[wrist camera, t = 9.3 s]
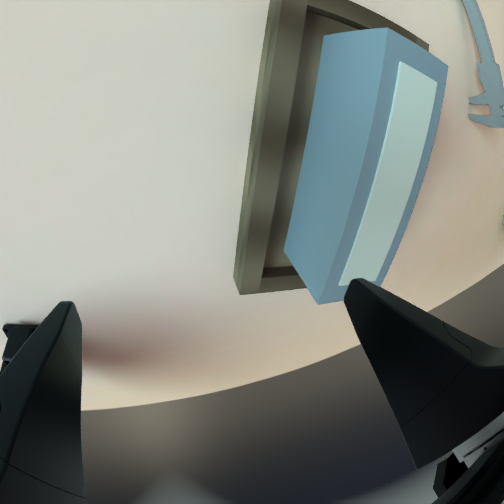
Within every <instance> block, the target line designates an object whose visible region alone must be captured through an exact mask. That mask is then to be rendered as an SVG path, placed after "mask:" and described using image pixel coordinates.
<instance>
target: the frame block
mask: <svg viewBox="0 0 504 504" xmlns="http://www.w3.org/2000/svg"><path fill="white" fill-rule="evenodd" d="M447 71H448V66H447V65H446V64H445V63H443V62H442V61H441V60H439V59H438V58H436V57H435V56H434V55H432V54H431V53H429V52H428V51H426V50H425V49H423V48H422V47H420V46H418V45H417V44H415V43H414V42H412V41H410V40H409V39H407V38H405V37H404V36H402V35H400V34H398V33H397V32H395V31H393V30H391V29H389V28H375V29H365V30H356V31H349V32H342V33H336V34H330V35H324V37H323V43H322V50H321V57H320V63H319V69H318V76H317V82H316V88H315V94H314V99H313V105H312V111H311V117H310V122H309V128H308V133H307V139H306V144H305V149H304V154H303V160H302V165H301V170H300V175H299V180H298V185H297V190H296V195H295V200H294V204H293V209H292V214H291V219H290V223H289V228H288V233H287V237H286V242H285V246H284V252H285V254H286V255H287V257H288V258H289V260H290V262H291V263H292V265H293V266H294V268H295V269H296V271H297V273H298V274H299V276H300V277H301V279H302V280H303V282H304V284H305V285H306V287H307V288H308V290H309V291H310V293H311V295H312V296H313V298H314V299H315V301H316V303H317V304H318V305H319V304H325V303H331V302H337V301H343V300H344V295H345V293H346V290H347V288H348V286H349V283H350V281H351V280H352V279H355V278H364V279H366V280H368V281H370V282H371V283H373V284H375V285H377V286H379V287H380V286H381V284H382V282H383V280H384V278H385V276H386V274H387V271H388V269H389V267H390V265H391V263H392V260H393V258H394V256H395V254H396V251H397V249H398V246H399V244H400V242H401V239H402V237H403V234H404V232H405V229H406V227H407V224H408V221H409V219H410V216H411V213H412V211H413V208H414V205H415V202H416V199H417V197H418V194H419V191H420V188H421V184H422V181H423V178H424V175H425V172H426V168H427V165H428V161H429V158H430V154H431V151H432V147H433V143H434V139H435V135H436V131H437V126H438V122H439V117H440V113H441V108H442V102H443V97H444V91H445V85H446V78H447Z"/></svg>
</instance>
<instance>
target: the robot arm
mask: <svg viewBox="0 0 504 504" xmlns="http://www.w3.org/2000/svg"><path fill="white" fill-rule="evenodd" d="M344 303H345V306H346V308H347V311H348V313H349V316H350V318H351V321H352V323H353V326H354V329H355V331H356V334H357V336H358V338H359V341H360V343H361V345H362V346H363V349H364V351H365V353H366V355H367V357H368V359H369V361H370V363H371V365H372V367H373V369H374V371H375V374H376V376H377V378H378V380H379V382H380V384H381V386H382V388H383V391H384V393H385V395H386V397H387V400H388V402H389V404H390V406H391V408H392V411H393V413H394V415H395V418H396V420H397V422H398V425H399V427H400V430H401V432H402V434H403V437H404V439H405V442H406V444H407V447H408V449H409V452H410V454H411V457H412V459H413V462H414V465H415V467H416V469H417V470H418V469H419V468H422V467H424V466H425V465H427V464H429V463H431V462H433V461H435V460H436V459H438V458H440V457H441V456H443V455H445V454H446V453H448V452H450V451H451V450H452V451H451V453H449V454H448V455H447V456H446V457H445V458H444V459H443V460H441V461H440V462H439V463H438V465H437V471H436V476H435V481H434V486H433V489H434V491H435V493H436V494H437V496H438V499H437V500H435V501H434V502H433V503H432V504H504V347H503V348H502V347H501V348H499V347H494V346H491V345H489V344H486V343H485V342H483V341H480V340H478V339H476V338H474V337H472V336H470V335H468V334H466V333H464V332H462V331H460V330H458V329H456V328H455V327H452V326H451V325H449V324H447V323H445V322H444V321H441V320H440V319H438V318H436V317H435V316H433V315H431V314H429V313H427V312H426V311H424V310H422V309H420V308H418V307H416V306H415V305H413V304H411V303H409V302H407V301H405V300H403V299H402V298H400V297H398V296H396V295H394V294H392V293H390V292H389V291H387V290H385V289H383V288H381V287H379V286H377V285H375V284H373V283H371V282H370V281H368V280H366V279H364V278H355V279H352V280H351V281H350V283H349V286H348V288H347V290H346V293H345V295H344ZM3 331H4V333H5V334H6V336H7V338H8V340H7V343H6V346H5V350H4V353H3V356H2V359H3V363H2V367H1V371H0V504H87V499H86V491H85V484H84V475H83V464H82V451H81V386H82V324H81V320H80V318H79V315H78V312H77V310H76V307H75V304H74V303H73V302H72V301H62V302H60V303H58V305H57V306H56V307H55V308H54V309H53V310H52V311H51V312H50V314H49V315H48V316H47V317H46V318H45V319H44V320H43V322H42V323H41V324H40V325H39V326H23V325H4V326H3Z"/></svg>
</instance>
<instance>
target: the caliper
mask: <svg viewBox="0 0 504 504" xmlns="http://www.w3.org/2000/svg"><path fill="white" fill-rule="evenodd" d="M462 1H463V3H464V6H465V8H466V11H467V13H468V16H469V19H470V22H471V25H472V28H473V31H474V35H475V38H476V42H477V45H478V49H479V53H480V57H481V63H476V65H477V68H478V70H479V78H480V80H481V83H482V85H483V86H484V90H485V93H483V94H480V95H478V96H475V97H472V98H470V99H469V104H477V105H489V107H490V114H491V116H488V115H471V114H468V115H469V118H470V119H471V120H473V121H476V122H478V123H481V124H483V125H486V126H488V127H494V128H504V109H503V106H504V88H503V82H502V77H501V72H500V67H499V64H496V63H495V59H494V55H493V51H492V47H491V43H490V39H489V36H488V33H487V29H486V26H485V23H484V20H483V17H482V15H481V12H480V9H479V7H478V4H477V1H476V0H462Z"/></svg>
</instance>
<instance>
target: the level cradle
mask: <svg viewBox="0 0 504 504" xmlns="http://www.w3.org/2000/svg"><path fill="white" fill-rule="evenodd" d="M375 28H389V29H391V30H393V31H395V32H397V33H398V34H400V35H402V36H404V37H405V38H407V39H409V40H410V41H412V42H414V43H415V44H417V45H418V46H420V47H422V48H423V49H425V50H426V51H428V50H429V44H427V43H426V42H424V41H423V40H421V39H420V38H418V37H417V36H415V35H414V34H412V33H411V32H409V31H407V30H406V29H404V28H402V27H401V26H399V25H397V24H395V23H394V22H392V21H390V20H388V19H386V18H385V17H383V16H381V15H379V14H377V13H375V12H373V11H371V10H369V9H367V8H365V7H363V6H360V5H358V4H356V3H354V2H352V1H349V0H270V5H269V11H268V17H267V24H266V30H265V37H264V43H263V50H262V57H261V63H260V70H259V77H258V84H257V91H256V99H255V106H254V113H253V120H252V128H251V135H250V143H249V151H248V158H247V166H246V174H245V182H244V190H243V198H242V206H241V215H240V223H239V232H238V240H237V249H236V258H235V267H234V276H233V277H234V280H235V283H236V286H237V289H238V291H239V294H240V295H245V294H255V293H265V292H275V291H284V290H293V289H301V288H307V287H306V285H305V284H304V282H303V280H302V279H301V277H300V276H299V274H298V273H297V271H296V269H295V268H294V266H293V265H292V263H291V262H290V260H289V258H288V257H287V255H286V254H285V252H284V246H285V242H286V237H287V233H288V228H289V223H290V219H291V214H292V209H293V204H294V200H295V195H296V190H297V185H298V180H299V175H300V170H301V165H302V160H303V154H304V149H305V144H306V139H307V133H308V128H309V122H310V117H311V111H312V105H313V99H314V94H315V88H316V82H317V76H318V69H319V63H320V57H321V50H322V43H323V37H324V35H330V34H336V33H342V32H349V31H356V30H365V29H375Z"/></svg>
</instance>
